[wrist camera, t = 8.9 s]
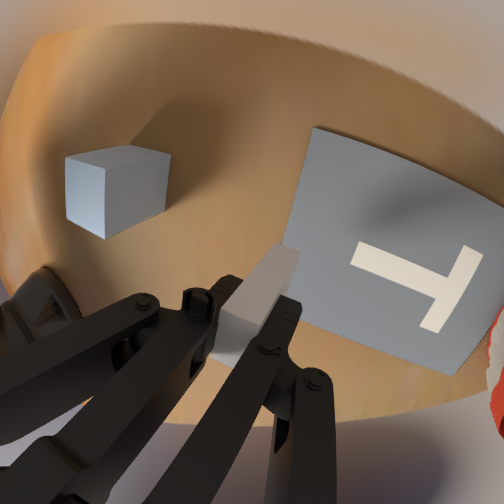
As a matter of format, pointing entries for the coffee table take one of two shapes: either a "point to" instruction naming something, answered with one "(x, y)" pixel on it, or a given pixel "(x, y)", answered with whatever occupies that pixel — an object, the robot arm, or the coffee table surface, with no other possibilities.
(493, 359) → the toy
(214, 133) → the coffee table surface
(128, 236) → the coffee table surface
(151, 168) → the block
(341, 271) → the letter card
